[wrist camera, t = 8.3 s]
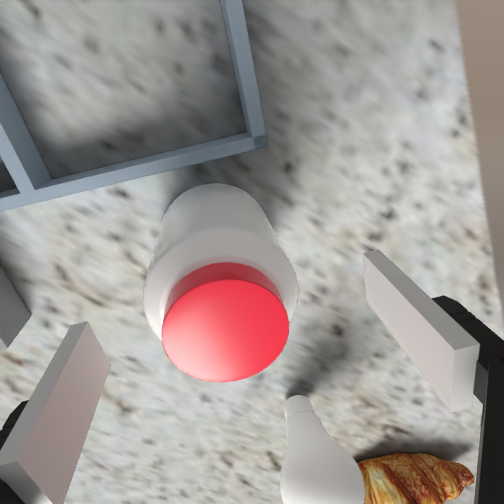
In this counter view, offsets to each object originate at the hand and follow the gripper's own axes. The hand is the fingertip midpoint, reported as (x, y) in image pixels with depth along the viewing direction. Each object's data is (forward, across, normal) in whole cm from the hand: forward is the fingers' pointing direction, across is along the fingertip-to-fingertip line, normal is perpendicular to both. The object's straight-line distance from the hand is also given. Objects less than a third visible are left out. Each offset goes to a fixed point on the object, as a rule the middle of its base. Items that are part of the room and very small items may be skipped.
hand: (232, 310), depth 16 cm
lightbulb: (+10, +2, -18) cm, 20 cm away
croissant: (+10, +9, -34) cm, 36 cm away
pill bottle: (+10, -1, 0) cm, 10 cm away
